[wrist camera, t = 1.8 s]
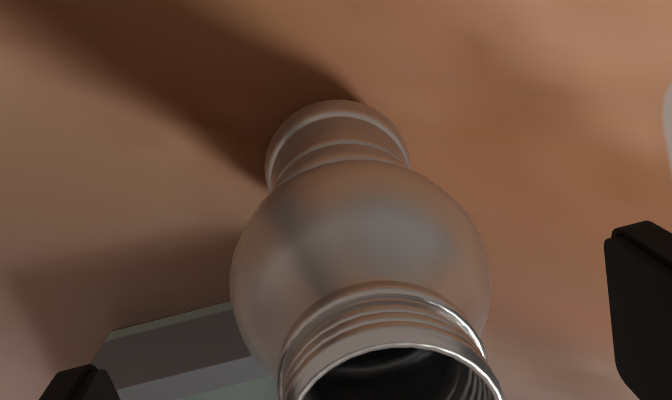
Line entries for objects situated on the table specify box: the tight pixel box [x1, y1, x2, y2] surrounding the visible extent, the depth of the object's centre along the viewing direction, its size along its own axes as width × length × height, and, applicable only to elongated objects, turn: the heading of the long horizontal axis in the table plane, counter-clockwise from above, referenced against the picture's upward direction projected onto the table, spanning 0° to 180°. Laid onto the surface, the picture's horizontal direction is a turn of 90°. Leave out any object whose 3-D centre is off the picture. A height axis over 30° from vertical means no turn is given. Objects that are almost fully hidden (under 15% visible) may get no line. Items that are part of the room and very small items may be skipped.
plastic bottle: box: [229, 99, 505, 400], centre depth 18 cm, size 6×7×20 cm
